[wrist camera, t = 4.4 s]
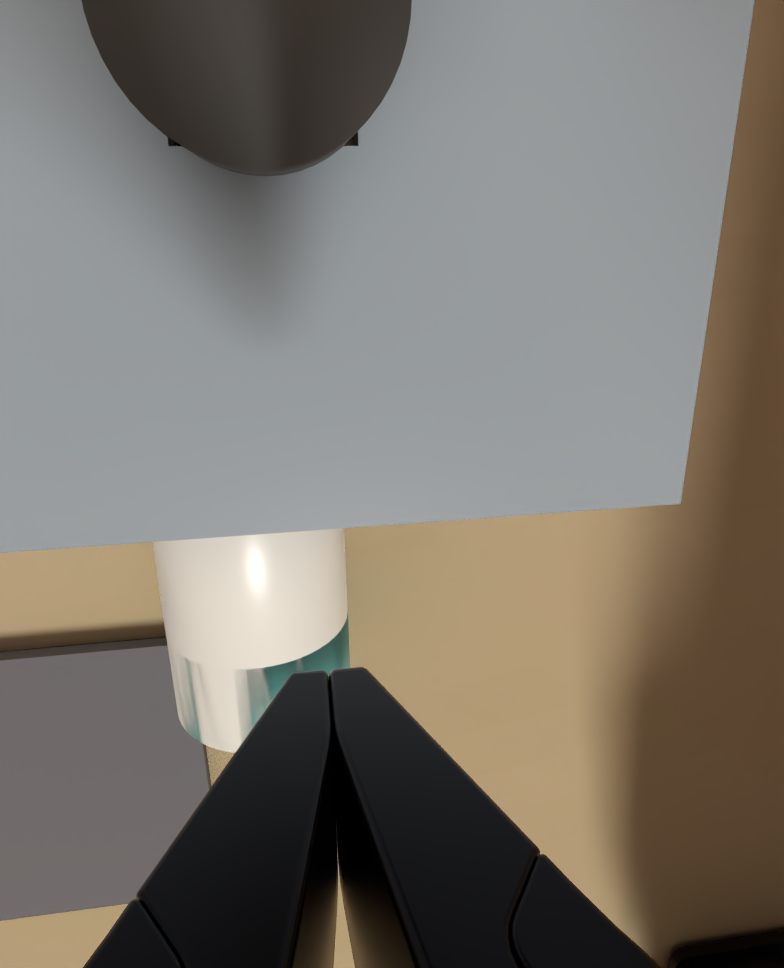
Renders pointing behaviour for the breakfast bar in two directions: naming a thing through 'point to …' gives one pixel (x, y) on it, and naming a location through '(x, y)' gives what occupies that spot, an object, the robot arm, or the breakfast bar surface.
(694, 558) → the breakfast bar surface
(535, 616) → the breakfast bar surface
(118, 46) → the plunger
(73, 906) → the mat
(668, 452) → the housing
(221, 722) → the cylinder
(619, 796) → the breakfast bar surface
